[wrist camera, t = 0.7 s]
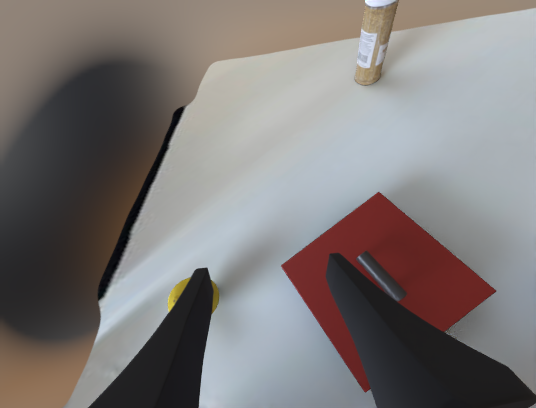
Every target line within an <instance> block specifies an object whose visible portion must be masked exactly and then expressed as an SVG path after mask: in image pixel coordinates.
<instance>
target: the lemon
mask: <svg viewBox="0 0 536 408" xmlns="http://www.w3.org/2000/svg"><path fill="white" fill-rule="evenodd" d="M190 278H191V277H190ZM190 278H187V279H185V280H182V281H181V282H180V283H178V284H177V285H176V286H175V287H174V288H173V290H172V291H171V293H170V296H169V299H168V309H169V312H170V310H171V309H172V307H173V306H174V304H175V303H176V301H177V299H178V298H179V296H180V295H181V293H182V292H183V290H184V288H185V287H186V285H187V283H188V282H189V280H190ZM211 283H212V286H213V290H214V294H213V307H212V313H213V312H214V311H215V309H216V307H217V305H218V302H219V291H218V288H217V286H216V284H215V283H214V282H213V281H212V280H211Z"/></svg>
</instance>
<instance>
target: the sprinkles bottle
mask: <svg viewBox="0 0 536 408" xmlns="http://www.w3.org/2000/svg"><path fill="white" fill-rule="evenodd" d="M398 1H399V0H365V2H366V3H365V6H366V7H365V13H364V20H363V25H362V30H361V37H360V44H359V52H358V59H357V70H356V74H355V81H356V82H357V83H359V84H361V85H369V84H372V83H374V82H376V81H377V80H378V79H379V78H380V75H381V69H382V65H383V61H384V58H385V54H386V50H387V46H388V42H389V38H390V34H391V30H392V26H393V21H394V17H395V14H396V9H397V6H398Z"/></svg>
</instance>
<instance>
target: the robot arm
mask: <svg viewBox="0 0 536 408" xmlns="http://www.w3.org/2000/svg"><path fill="white" fill-rule="evenodd" d="M325 277H326V280H327V283H328V286H329V289H330V292H331V294H332V296H333V298H334V301H335V303H336V305H337V307H338V309H339V311H340V313H341V315H342V317H343V319H344V322H345V324H346V326H347V328H348V330H349V332H350V334H351V337H352V339H353V341H354V344H355V347H356V349H357V352H358V354H359V357H360V360H361V362H362V365H363V368H364V371H365V374H366V376H367V379H368V382H369V385H370V388H371V391H372V394H373V397H374V400H375V403H376V406H377V408H528V407H530V406H532V405H534V404H535V403H536V395H535V394H534V393H533V392H532V391H531V390H530V389H529V388H528V387H527V386H526V385H525V384H524V383H523V382H522V381H521V380H520V379H519V378H518V377H517V376H516V375H515V374H514V372H513V371H512V370H510V369H509V368H508V367H507V366H505V365H503V364H501V363H499V362H498V361H496V360H494V359H492V358H490V357H488V356H486V355H484V354H482V353H480V352H478V351H476V350H474V349H472V348H471V347H469V346H467V345H465V344H463V343H462V342H460V341H458V340H456V339H455V338H453V337H451V336H449V335H448V334H446V333H444V332H443V331H441V330H439V329H438V328H436V327H434V326H433V325H431V324H430V323H428V322H426V321H425V320H423V319H422V318H420V317H419V316H417V315H416V314H414V313H413V312H411V311H410V310H408V309H407V308H405V307H404V306H403V305H401V304H400V303H398V302H397V301H396V300H394V299H393V298H391V297H390V296H389V295H388V294H386V293H385V292H384V291H383V290H381V289H380V288H379V287H378V286H376V285H375V284H374V283H373V282H372V281H370V280H369V279H368V278H367V277H366V276H365V275H364V274H362V273H361V272H360V271H359V270H358V269H357V268H356V267H355V266H353V265H352V264H351V263H350V262H349V261H348V260H347V259H346V258H345V257H344V256H343V255H341V254H340V253H330V254H329V259H328V265H327V270H326V276H325ZM213 294H214V290H213V286H212V283H211V279H210V275H209V272H208V268H199V269H196V270H195V271H194V273H193V275H192V276H191V278H190V280H189V282H188V283H187V285H186V287H185V288H184V290H183V292H182V293H181V295H180V296H179V298H178V299H177V301H176V303H175V304H174V306H173V307H172V309H171V310H170V312H169V313H168V314H167V316H166V317H165V319H164V320H163V321H162V323H161V324H160V326H159V327H158V328H157V330H156V331H155V332H154V334H153V335H152V336H151V338H150V339H149V340H148V341H147V343H146V344H145V345H144V346H143V348H142V349H141V350H140V351H139V352H138V354H137V355H136V356H135V357H134V358H133V360H132V361H131V362H130V363H129V364H128V365H127V367H126V368H125V369H124V370H123V371H122V372H121V373H120V375H119V376H118V377H117V378H116V379H115V380H114V381H113V382H112V383H111V384H110V385H109V386H108V387H107V388H106V390H105V391H104V392H103V393H102V394H101V395H100V396H99V397H98V398H97V399H96V400H95V401H94V402H93V403H92V404H91V405H90V406H89V407H88V408H198V407H199V396H200V385H201V375H202V366H203V359H204V352H205V347H206V341H207V336H208V331H209V325H210V320H211V314H212V307H213Z"/></svg>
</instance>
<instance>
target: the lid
mask: <svg viewBox="0 0 536 408" xmlns="http://www.w3.org/2000/svg"><path fill="white" fill-rule="evenodd" d="M330 253H340V254H341V255H343V256H344V257H345V258H346V259H347V260H348V261H349V262H350V263H351V264H352V265H353V266H355V267H356V268H357V269H358V270H359V271H360V272H361V273H362V274H364V275H365V276H366V277H367V278H368V279H369V280H370V281H372V282H373V283H374V284H375V285H376V286H378V287H379V288H380V289H381V290H383V291H384V292H385V293H386V294H388V295H389V296H390V297H391V298H393V299H394V300H396V301H397V302H398V303H400V304H401V305H403V306H404V307H405V308H407V309H408V310H410V311H411V312H413V313H414V314H416V315H417V316H419V317H420V318H422V319H423V320H425V321H426V322H428V323H430V324H431V325H433V326H434V327H436V328H438V329H439V330H441V331H443V332H444V331H446V330H447V329H448V328H450V327H451V326H452V325H453V324H455V323H456V322H457V321H459V320H460V319H461V318H462V317H464V316H465V315H466V314H468V313H469V312H470V311H471V310H473V309H474V308H475V307H477V306H478V305H479V304H480V303H482V302H483V301H484V300H486V299H487V298H488V297H490V296H491V295H492V294H493V293H495V292H496V290H495V289H494V288H492V287H491V286H490V285H489V284H488V283H487V282H485V281H484V280H483V279H482V278H481V277H479V276H478V275H477V274H476V273H475V272H473V271H472V270H471V269H470V268H469V267H468V266H466V265H465V264H464V263H463V262H462V261H460V260H459V259H458V258H457V257H456V256H454V255H453V254H452V253H451V252H450V251H449V250H447V249H446V248H445V247H444V246H443V245H441V244H440V243H439V242H438V241H437V240H435V239H434V238H433V237H432V236H431V235H430V234H428V233H427V232H426V231H425V230H424V229H422V228H421V227H420V226H419V225H418V224H416V223H415V222H414V221H413V220H412V219H411V218H409V217H408V216H407V215H406V214H405V213H403V212H402V211H401V210H400V209H399V208H397V207H396V206H395V205H394V204H393V203H392V202H390V201H389V200H388V199H387V198H386V197H384V196H383V195H382V194H381V193H380V192H378V193H376V194H375V195H374V196H373V197H371V198H370V199H369V200H367V201H366V202H365V203H363V204H362V205H361V206H359V207H358V208H357V209H355V210H354V211H353V212H351V213H350V214H349V215H347V216H346V217H345V218H343V219H342V220H341V221H339V222H338V223H337V224H335V225H334V226H333V227H331V228H330V229H329V230H327V231H326V232H325V233H324V234H322V235H321V236H320V237H318V238H317V239H316V240H314V241H313V242H312V243H310V244H309V245H308V246H306V247H305V248H304V249H302V250H301V251H300V252H298V253H297V254H296V255H294V256H293V257H292V258H290V259H289V260H288V261H286V262H285V263H284V264H282V265H281V267H282V269H283V270H284V272H285V273H286V275H287V276H288V278H289V279H290V281H291V282H292V284H293V285H294V287H295V288H296V290H297V291H298V293H299V294H300V296H301V297H302V299H303V300H304V302H305V303H306V305H307V306H308V308H309V309H310V311H311V312H312V314H313V315H314V317H315V318H316V320H317V321H318V323H319V324H320V326H321V327H322V329H323V330H324V332H325V333H326V335H327V336H328V338H329V339H330V341H331V342H332V344H333V345H334V347H335V348H336V350H337V351H338V353H339V354H340V356H341V357H342V359H343V360H344V362H345V363H346V365H347V366H348V368H349V369H350V371H351V372H352V374H353V375H354V377H355V378H356V380H357V381H358V383H359V384H360V386H361V387H362V389H363V390H364V392H367V391H368V390H370V389H371V388H370V385H369V382H368V379H367V376H366V374H365V371H364V368H363V365H362V362H361V360H360V357H359V354H358V352H357V349H356V347H355V344H354V341H353V339H352V337H351V334H350V332H349V330H348V328H347V326H346V324H345V322H344V319H343V317H342V315H341V313H340V311H339V309H338V307H337V305H336V303H335V301H334V298H333V296H332V294H331V292H330V289H329V286H328V283H327V280H326V277H325V276H326V270H327V265H328V259H329V254H330Z"/></svg>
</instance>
